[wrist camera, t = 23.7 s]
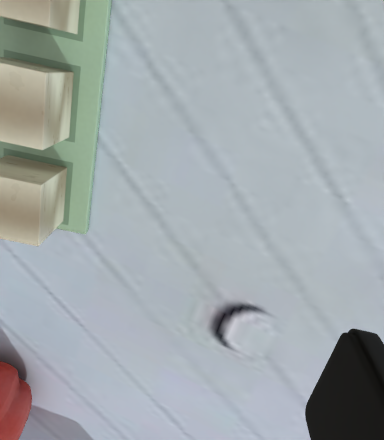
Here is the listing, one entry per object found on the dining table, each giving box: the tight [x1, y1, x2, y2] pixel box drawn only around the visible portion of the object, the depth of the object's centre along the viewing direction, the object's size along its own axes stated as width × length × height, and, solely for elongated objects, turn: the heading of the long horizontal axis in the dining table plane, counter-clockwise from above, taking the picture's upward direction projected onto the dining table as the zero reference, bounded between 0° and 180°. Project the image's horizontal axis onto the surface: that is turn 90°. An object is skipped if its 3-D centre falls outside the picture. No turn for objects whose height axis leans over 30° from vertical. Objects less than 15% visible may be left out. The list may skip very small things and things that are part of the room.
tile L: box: [0, 57, 74, 150], centre depth 26 cm, size 5×5×5 cm
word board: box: [0, 0, 112, 234], centre depth 28 cm, size 22×9×1 cm, turn 168°
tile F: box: [0, 155, 67, 246], centre depth 29 cm, size 5×5×5 cm
